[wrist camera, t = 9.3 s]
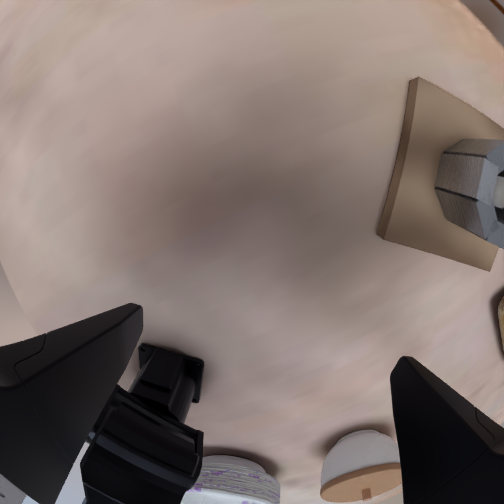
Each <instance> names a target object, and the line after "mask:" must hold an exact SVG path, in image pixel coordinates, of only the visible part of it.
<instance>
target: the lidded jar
mask: <svg viewBox="0 0 504 504" xmlns="http://www.w3.org/2000/svg"><path fill="white" fill-rule="evenodd" d="M401 483H402V476H401V466H400V457H399V449H398V444H397V443H396V442H395V441H394V440H393V439H392V438H390V437H389V436H387V435H385V434H382V433H379V432H378V431H376V430H372V429H366V430H359V431H355V432H352V433H350V434H347V435H345V436H344V437H342V438H341V439H339V440H338V441H337V443H336V445H335V446H334V447H333V448H332V449H331V450H330V451H329V453H328V454H327V456H326V458H325V460H324V463H323V467H322V472H321V490H320V495H321V498H322V499H324V500H326V501H329V502H352V501H358V500H363V501H368V500H370V499H372V497H374V496H377V495H380V494H382V493H385V492H387V491H389V490H391V489H393V488H395V487H397V486H398V485H400V484H401Z"/></svg>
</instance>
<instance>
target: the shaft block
mask: <svg viewBox="0 0 504 504" xmlns="http://www.w3.org/2000/svg"><path fill="white" fill-rule="evenodd" d="M461 139H497V140H504V129H503V128H502V127H501V126H499V125H498V124H497V123H495V122H494V121H493V120H491V119H490V118H488V117H487V116H486V115H484V114H483V113H481V112H480V111H478V110H477V109H475V108H474V107H472V106H471V105H469V104H467V103H466V102H464V101H463V100H461V99H459V98H458V97H456V96H454V95H453V94H451V93H449V92H447V91H445V90H444V89H442V88H440V87H438V86H436V85H434V84H432V83H431V82H429V81H427V80H425V79H423V78H420V77H417V78H415V79H413V80H410V83H409V91H408V98H407V105H406V112H405V118H404V124H403V129H402V135H401V140H400V145H399V150H398V155H397V159H396V164H395V168H394V172H393V176H392V180H391V184H390V188H389V192H388V196H387V200H386V203H385V207H384V211H383V214H382V218H381V221H380V224H379V228H378V231H377V234H378V235H379V236H380V237H381V238H382V239H383V240H386V241H390V242H394V243H397V244H401V245H404V246H408V247H411V248H415V249H418V250H422V251H425V252H428V253H432V254H435V255H439V256H442V257H445V258H448V259H452V260H455V261H458V262H461V263H464V264H467V265H471V266H474V267H477V268H480V269H483V270H486V271H489V272H490V270H491V268H492V265H493V262H494V260H495V257H496V254H497V251H498V248H499V247H498V246H496V245H494V244H492V243H489V242H487V241H485V240H483V239H482V238H480V237H478V236H476V235H474V234H473V233H471V232H469V231H467V230H465V229H463V228H461V227H459V226H457V225H455V224H453V223H451V222H449V221H447V219H446V218H445V217H444V214H443V211H442V208H441V205H440V203H439V200H438V197H437V195H436V192H435V190H434V189H435V188H436V186H434V184H435V179H436V175H437V171H438V166H439V162H440V157H441V153H442V154H444V153H443V151H444V150H445V149H447V148H448V147H450V146H452V145H453V144H455V143H457V142H458V141H460V140H461ZM492 199H493V203H494V206H496V207H498V208H504V177H500V176H497V180H496V185H495V190H494V194H493V198H492Z"/></svg>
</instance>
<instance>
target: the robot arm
mask: <svg viewBox="0 0 504 504" xmlns="http://www.w3.org/2000/svg"><path fill="white" fill-rule="evenodd" d="M142 330H143V308H142V306H141V305H138V304H134V303H128V304H125V305H123V306H120V307H117V308H114V309H112V310H109V311H106V312H103V313H101V314H98V315H95V316H92V317H89V318H87V319H84V320H81V321H78V322H76V323H73V324H70V325H67V326H64V327H62V328H59V329H56V330H53V331H50V332H48V333H47V334H46V333H44V334H42V335H39V336H36V337H33V338H30V339H27V340H24V341H20V342H17V343H13V344H10V345H5V346H1V347H0V504H22V502H23V500H24V499H25V497H26V495H28V496H29V497H31V498H32V499H33V500H35V501H36V502H38V503H39V504H55V502H56V500H57V498H58V495H59V493H60V491H61V489H62V487H63V485H64V483H65V480H66V479H67V477H68V474H69V472H70V470H71V468H72V466H73V463H74V462H75V460H76V458H77V456H78V454H79V452H80V450H81V448H82V446H83V444H84V443H85V442H87V443H89V444H90V445H89V447H88V449H87V451H86V453H85V454H84V456H83V458H82V460H81V462H80V468H81V474H82V481H83V486H84V491H85V496H86V497H85V499H84V501H83V503H82V504H181V501H182V499H183V496H184V494H185V492H186V491H188V490H190V489H191V488H192V487H193V486H194V484H195V483H196V481H197V479H198V477H199V475H200V472H201V469H202V459H203V435H204V432H202V431H200V430H195V429H193V428H191V427H189V426H187V425H185V424H184V422H185V419H186V416H187V413H188V410H189V407H190V404H191V402H192V403H198V402H199V400H200V393H201V385H202V377H203V369H204V362H203V361H202V360H199V359H195V358H192V357H188V356H184V355H181V354H177V353H174V352H170V351H167V350H163V349H160V348H157V347H154V346H151V345H147V344H144V343H142V344H140V346H139V348H138V349H139V362H140V371H139V373H138V375H137V377H136V378H135V380H134V382H133V383H132V385H131V387H130V389H129V390H128V392H127V391H126V390H124V389H122V388H121V387H120V385H118V384H117V383H118V381H119V379H120V378H121V376H122V374H123V373H124V371H125V369H126V367H127V365H128V363H129V360H130V358H131V356H132V353H133V351H134V349H135V347H136V344H137V342H138V340H139V338H140V336H141V333H142ZM143 348H144V349H143ZM198 364H199V365H198ZM390 384H391V395H392V408H393V416H394V423H395V429H396V435H397V442H398V449H399V457H400V466H401V476H402V487H403V502H404V504H504V428H503V427H501V426H500V425H498V424H497V423H496V422H494V421H493V420H492V419H490V418H489V417H488V416H486V415H485V414H484V413H482V412H481V411H480V410H479V409H477V408H476V407H474V405H472V404H471V403H470V402H469V401H467V400H466V399H465V398H464V397H462V396H461V395H460V394H459V393H457V392H456V391H455V390H454V389H452V388H451V387H450V386H449V385H447V384H446V383H445V382H444V381H442V380H441V379H440V378H438V377H437V376H436V375H435V374H433V373H432V372H431V371H430V370H428V369H427V368H426V367H424V366H423V365H422V364H421V363H419V362H418V361H417V360H416V359H414V358H413V357H410V356H402V357H401V358H400V359H399V361H398V362H397V364H396V366H395V367H394V369H393V370H392V372H391V375H390Z"/></svg>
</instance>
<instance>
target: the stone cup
mask: <svg viewBox="0 0 504 504" xmlns="http://www.w3.org/2000/svg"><path fill="white" fill-rule="evenodd" d="M498 318H499V326H500V332H501V338H502V345H503V351H504V296H503V298H502V299H501V301H500V303H499V306H498Z"/></svg>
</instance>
